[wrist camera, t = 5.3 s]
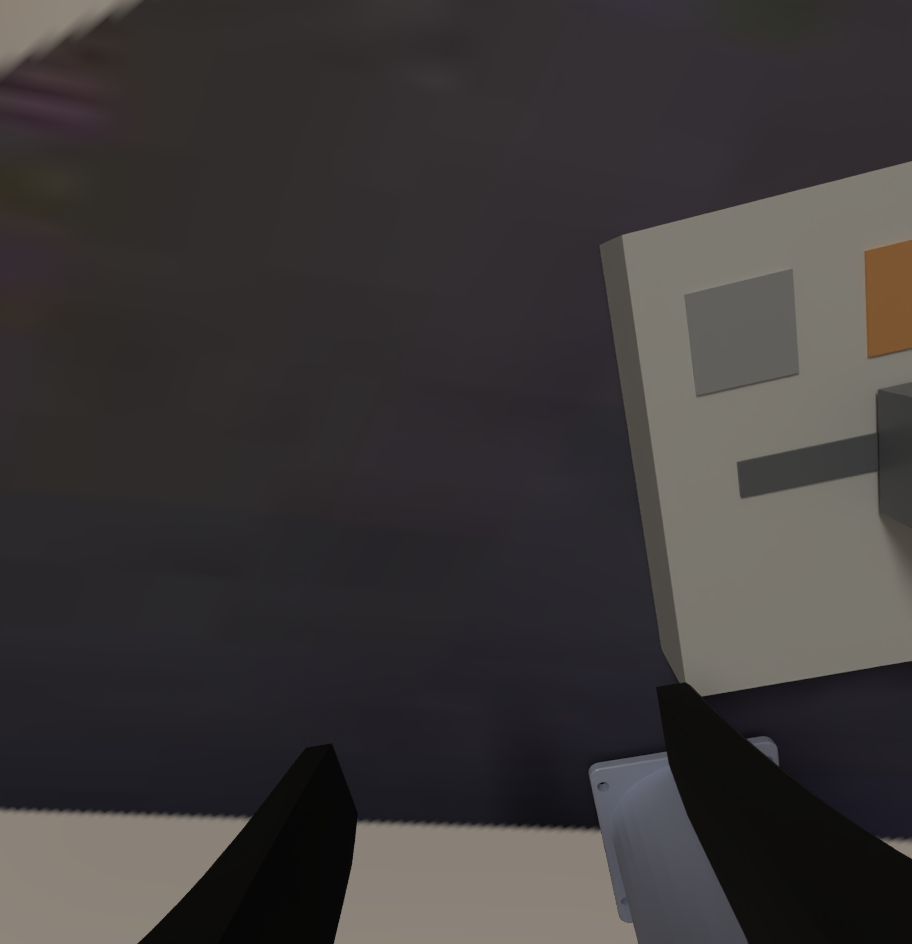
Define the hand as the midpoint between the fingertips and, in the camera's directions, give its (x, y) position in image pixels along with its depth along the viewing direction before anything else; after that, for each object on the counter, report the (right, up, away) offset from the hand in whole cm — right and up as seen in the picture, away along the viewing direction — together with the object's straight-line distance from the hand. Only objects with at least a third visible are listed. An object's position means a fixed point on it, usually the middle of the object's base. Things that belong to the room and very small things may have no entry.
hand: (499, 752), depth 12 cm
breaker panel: (+13, +8, +8) cm, 17 cm away
